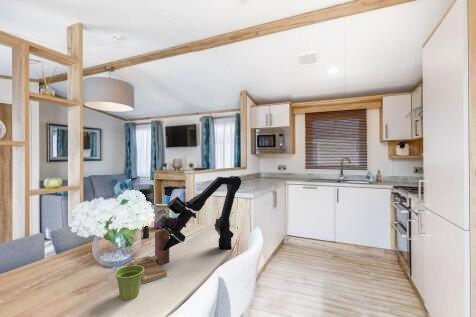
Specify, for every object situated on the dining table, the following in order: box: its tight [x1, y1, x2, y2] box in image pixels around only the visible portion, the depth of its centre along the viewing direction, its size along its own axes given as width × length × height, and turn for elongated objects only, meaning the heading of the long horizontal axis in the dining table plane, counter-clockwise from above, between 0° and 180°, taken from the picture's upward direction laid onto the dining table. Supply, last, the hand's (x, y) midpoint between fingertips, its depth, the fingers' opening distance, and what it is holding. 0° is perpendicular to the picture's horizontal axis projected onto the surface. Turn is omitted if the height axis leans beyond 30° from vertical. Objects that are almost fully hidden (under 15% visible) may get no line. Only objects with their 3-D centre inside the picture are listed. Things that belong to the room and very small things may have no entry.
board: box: [129, 255, 168, 284], centre depth 103 cm, size 22×9×2 cm, turn 38°
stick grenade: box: [138, 187, 154, 239], centre depth 146 cm, size 8×9×30 cm
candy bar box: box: [153, 203, 173, 229], centre depth 168 cm, size 11×5×16 cm, turn 84°
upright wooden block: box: [136, 229, 170, 266], centre depth 108 cm, size 14×5×15 cm, turn 128°
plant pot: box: [114, 265, 144, 301], centre depth 84 cm, size 9×9×9 cm
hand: (160, 247), depth 110 cm, fingers open, 9 cm apart
